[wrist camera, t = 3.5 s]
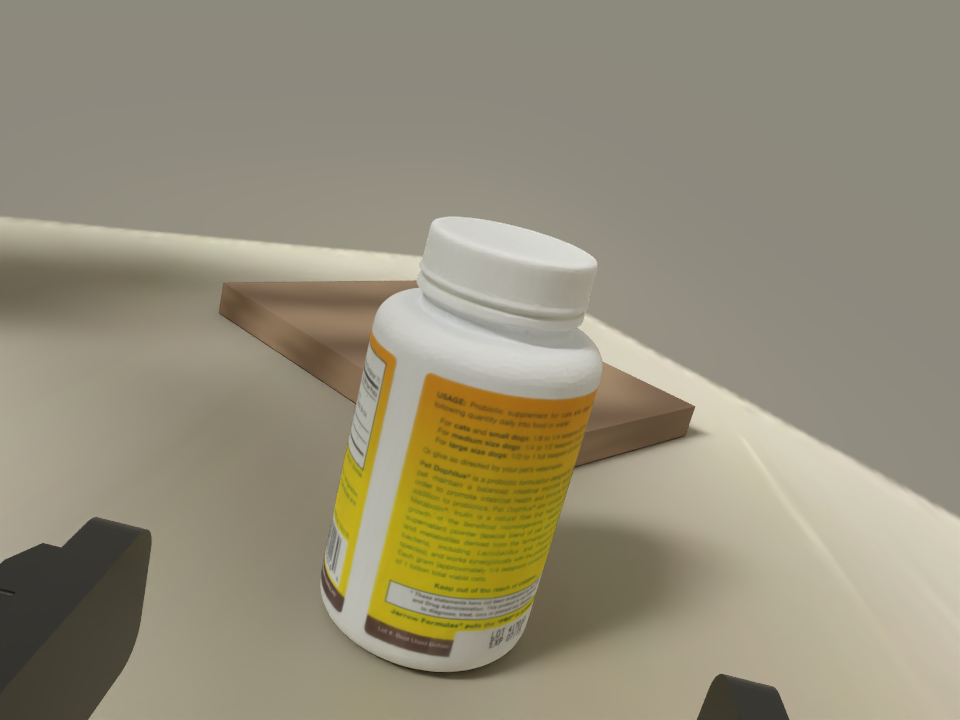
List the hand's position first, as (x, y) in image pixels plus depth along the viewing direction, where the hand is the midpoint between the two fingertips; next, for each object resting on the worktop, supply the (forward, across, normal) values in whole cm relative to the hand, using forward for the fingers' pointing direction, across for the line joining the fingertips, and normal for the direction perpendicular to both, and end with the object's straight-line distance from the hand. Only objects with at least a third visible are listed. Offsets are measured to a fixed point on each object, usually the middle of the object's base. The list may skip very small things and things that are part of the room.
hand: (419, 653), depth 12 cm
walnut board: (+29, +1, +6) cm, 29 cm away
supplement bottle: (+10, 0, +6) cm, 12 cm away
